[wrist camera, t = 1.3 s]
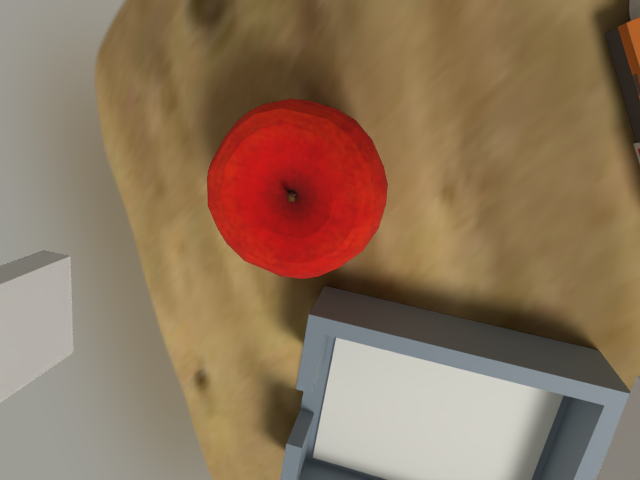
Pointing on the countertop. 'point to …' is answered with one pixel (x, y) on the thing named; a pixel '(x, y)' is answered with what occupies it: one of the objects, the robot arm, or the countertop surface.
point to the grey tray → (444, 398)
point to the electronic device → (629, 65)
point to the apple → (297, 188)
